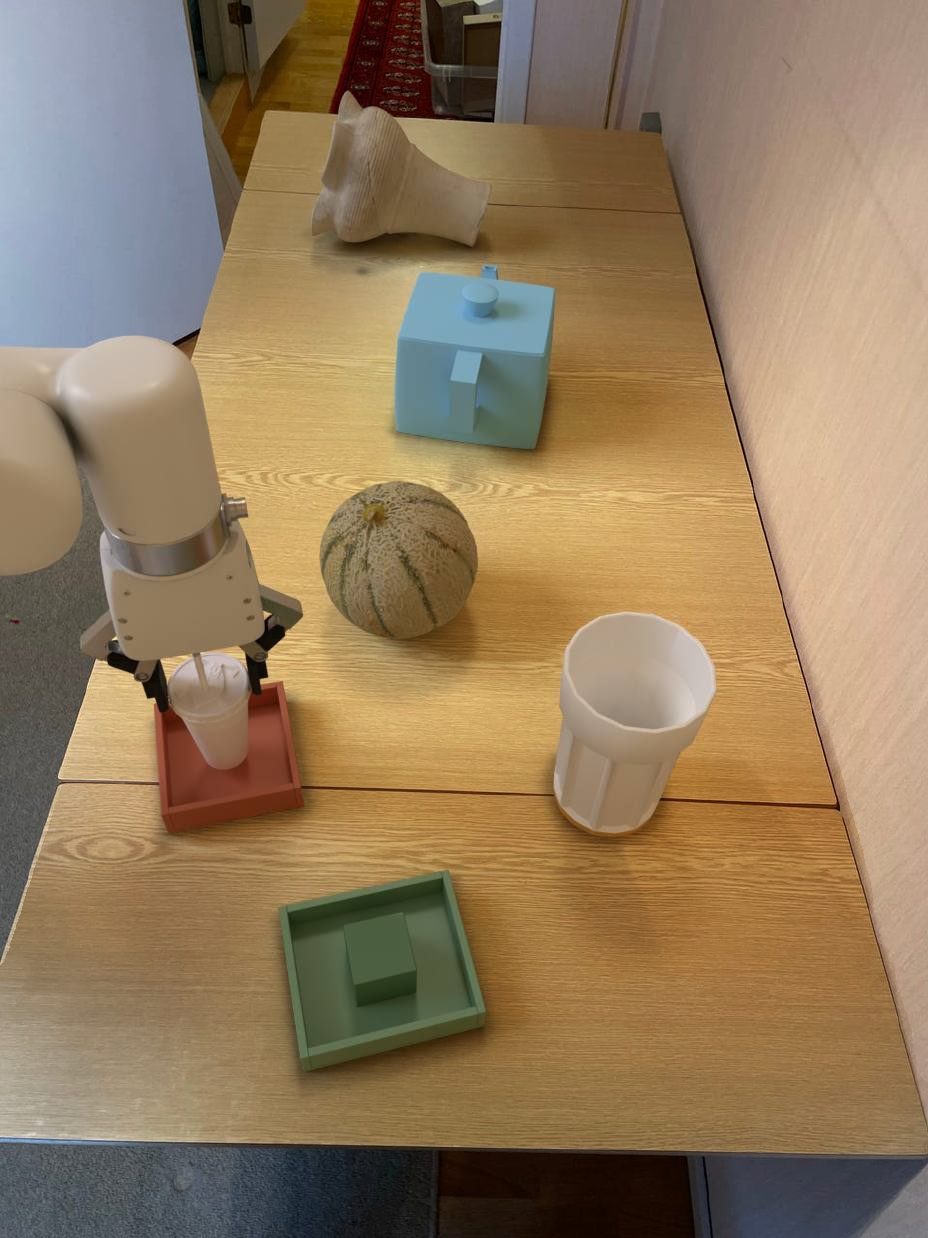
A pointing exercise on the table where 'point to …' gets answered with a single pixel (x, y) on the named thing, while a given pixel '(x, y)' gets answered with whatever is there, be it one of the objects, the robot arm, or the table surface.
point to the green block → (380, 959)
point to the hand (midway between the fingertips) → (209, 687)
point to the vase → (391, 184)
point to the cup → (627, 718)
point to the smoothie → (213, 705)
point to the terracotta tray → (233, 793)
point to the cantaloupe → (398, 559)
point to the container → (474, 359)
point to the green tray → (326, 986)
